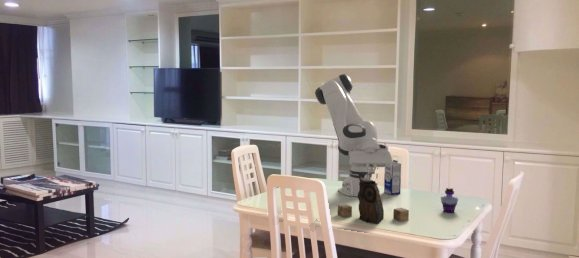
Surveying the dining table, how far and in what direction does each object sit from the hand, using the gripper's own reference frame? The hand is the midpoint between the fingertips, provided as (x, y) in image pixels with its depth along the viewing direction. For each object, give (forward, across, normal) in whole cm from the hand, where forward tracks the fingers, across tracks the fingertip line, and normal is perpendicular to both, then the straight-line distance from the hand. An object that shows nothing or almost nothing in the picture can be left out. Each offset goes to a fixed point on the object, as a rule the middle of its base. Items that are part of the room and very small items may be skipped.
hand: (371, 173), depth 217 cm
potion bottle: (+4, +42, +27) cm, 50 cm away
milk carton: (-22, +20, +54) cm, 62 cm away
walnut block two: (+15, +15, +16) cm, 27 cm away
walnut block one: (+12, -12, +20) cm, 26 cm away
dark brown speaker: (+16, +1, +16) cm, 23 cm away
